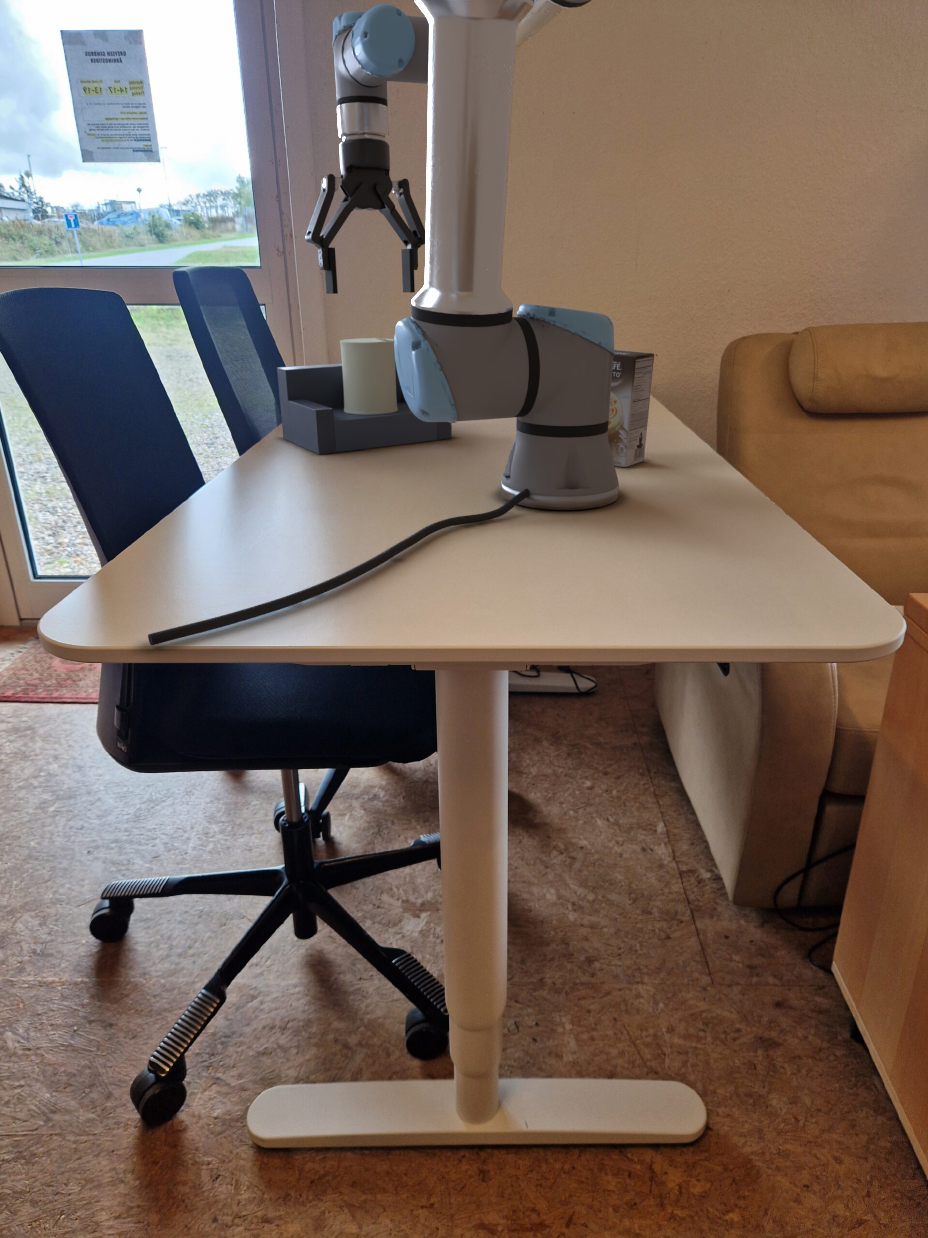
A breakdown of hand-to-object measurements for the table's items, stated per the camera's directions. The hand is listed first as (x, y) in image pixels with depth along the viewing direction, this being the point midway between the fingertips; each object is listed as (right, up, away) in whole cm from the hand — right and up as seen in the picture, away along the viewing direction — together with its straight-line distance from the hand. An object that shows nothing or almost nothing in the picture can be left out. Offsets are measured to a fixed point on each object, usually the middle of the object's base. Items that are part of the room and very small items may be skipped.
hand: (371, 293), depth 131 cm
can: (-1, -17, +9) cm, 19 cm away
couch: (-2, -20, +13) cm, 24 cm away
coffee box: (+37, -28, -4) cm, 47 cm away
